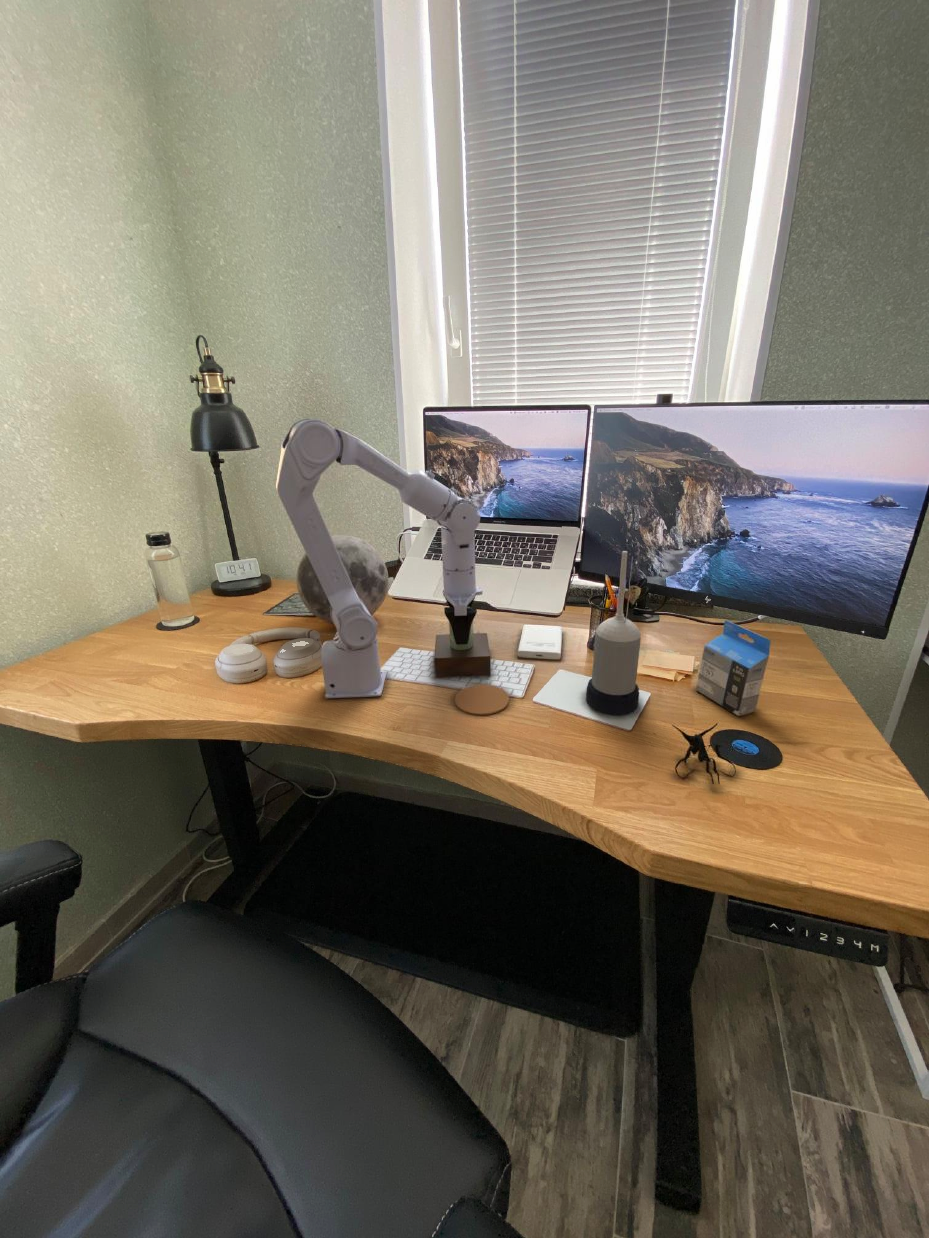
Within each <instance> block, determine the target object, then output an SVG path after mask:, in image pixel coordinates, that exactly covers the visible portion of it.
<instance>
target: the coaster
mask: <svg viewBox="0 0 929 1238" xmlns="http://www.w3.org/2000/svg"><path fill="white" fill-rule="evenodd" d="M509 703H510V696H509V694H508V693H507V692H506V691H505V689H503V688H500V687H498V686H496V685H491V684H473V685H469V686H467V687H464V688H462V689H461V690H459V691H458V692H457V693H456V695H455V696H454V704H455V706H456V707H457V708H458V709H459V710H460V711H462V712H464V713H466V714H469V715H474V716H475V715H476V716H488V715H489V716H490V715H494V714H496V713H499V712H502V711H503V710H505V709H506V708H507V707H508V705H509Z"/></svg>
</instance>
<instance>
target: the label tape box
mask: <svg viewBox="0 0 929 1238" xmlns="http://www.w3.org/2000/svg"><path fill="white" fill-rule="evenodd" d="M739 634H741V635H743V636H745V635H746V636H747V637H748V638H749V639H751V640H752V641H753V642H752V641H750V640H748V639H746V638H743V637H741V636H739ZM771 643H772V642H771V639H769V638H767V637H766V636H763V635H761V634H759V633H757V632H754V631H752V630H750V629H748V628H745V627H743V626H741V625H739V624H736V623H734V622H732V621H730V620H727V619H724V622H723V631H722V633H721V634H720V635H718V636H717V637H715V638H714V639H712V640H711V641H709V642H707V643H706V644H705V645H703V650H702V656H701V662H700V666H699V671H698V676H697V680H696V686H695V691H697V692H699V693H700V694H702V695H704V696H705V697H707V698H708V699H710V700H711V701H714V702H715V703H716V704H718V705H720V706H721V707H723V708H724V709H726V710H728V711H729V712H731V713H732V714H734V715H735V716H738V717H741V716H744V715H748V714H751V713H755V712H756V709H757V706H758V701H759V698H760V694H761V693H760V692H761V688H762V685H763V681H764V676H765V672H766V669H767V665H768V661H769V657H770V649H771Z"/></svg>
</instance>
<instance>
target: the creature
mask: <svg viewBox="0 0 929 1238" xmlns="http://www.w3.org/2000/svg"><path fill="white" fill-rule="evenodd" d="M717 725H718V722H716V723H715V724H714V725H713V726H711V727H710V728H709V729H706V730H704V731H702V732H700V733H699V734H697V733H695V734H694V735H689V734H687V733H686V732H684V731H683V730H681V729H680V728H678V727H677V726H675V725H674V724H672V725H671V726H672V727H673V728H674V729H676V730H677V731H678V732H679V733H680V734H681V735H682V736H683V738H684V740H685V741H687V742H688V744H689V747H688V748H687V750H686V753H685V756H684V757H683V758H681V759H680V760H678V762H677V763H676V765H675V768H674V770H675V773H676V775H677V776H678V777H679V778H680V779H683V780H685V779H687V778H688V777H689V776H690V774H691V773H692V772H695V771H696V770H694V769H691V770H690V771H689V772H688V773H687V774H686V776H684V777H683V776H680V775H679V773H678V770H677V769H678V767H679V765H680V764H681V763H682V762H684V764H685V766H686V765H687V760H688V759H689V758H690V757H691V754H692V755H693V756H695V755H696V754H697V760H698V762H699V763H702V764H703V763H704V762H705V773H707V774H709V776H710V777H711V784H712V785H713V786H714V784H715V783H714V777H713V774H712V772H711V771H713V772H714V773H715V775H716V776H717V782H718V783H717V784H718V785H720V773H722V774H724V775H725V776H728V777H730V778H731V777H735V775H736V773H737V769H736V766H735V765H734V763H733V762H731V760H729V759H727V758H726V757H724V756H723V755H722V754H721V753H720V750H719V748H722V745H721V744H719V743H716V744H715V745H714V751H715V752H714V753H715V754H716V756H717V758H719V759H721V760H724V761H726V762H727V763H728V764H730V765H732V767H733V768H734V774H732V775H728V774H727V773H726V772H724V771H721V770H718V769H717V762H716V760H715V759H714V758H713V757H710V756H709V754H708V750H709V749H710V748H711V746H712V744H708V745H705V741H704V738H703V737H704V736H705V735H706V734H708V733H709V732H711V731H712V730H713V729H714V728H716V727H717ZM706 747H708V748H707V749H706ZM711 760H712V761H711ZM710 763H712V769H711V771H710ZM719 772H720V773H719Z"/></svg>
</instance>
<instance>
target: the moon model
mask: <svg viewBox="0 0 929 1238" xmlns="http://www.w3.org/2000/svg"><path fill="white" fill-rule="evenodd" d="M331 538H332V540H333V542H334V544H335V547H336V549H337V551H338V554H339V556H340V558H341V560H342V563H343V565H344V567H345V569H346V572H347V574H348V576H349V578H350V581H351V583H352V585H353V587H354V589H355V591H356V593H357V595H358V597H359V598H360V599H361V600H362V601H363V602H364V604H365V606H366V608H367V610H368V611H369V613H370V615H371V616H372V617H373V615H374V614H376V612H377V611H378V610H379V609H380V607H381V606H382V605H383V603H384V601H385V599H386V597H387V594H388V590H389V573H388V569H387V565H386V563H385V561H384V558H383V557H382V555H381V554H380V553H379V552H378V550H377V549H376V548H375V547H374V546H372V545H371V544H370V543H368V542H367V541H365V540H363V539H362V538H359V537H356V536H352V535H345V534H337V535H331ZM295 581H296V589H297V593H298V596H299V598H300V601H302V603H303V605H304V606H305V608H306V609H307V610H308V611H309V612H310V613H311V614H312V615H314V616H315V617H316V618H318V619H319V620H322V621H323V622H325V623H328V624H331V625H335V624H334V623H333V622H332V620H331V617H330V610H331V606H330V602H329V600H328V598H327V596H326V594H325V592H324V590H323V588H322V585H321V583H320V581H319V579H318V577H317V575H316V573H315V571H314V569H313V566H312V564H311V562H310V560H309V558H308V556H307V554H306V552H304V554H303V556H302V557H301V559H300V561H299V564H298V567H297V570H296V579H295Z"/></svg>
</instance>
